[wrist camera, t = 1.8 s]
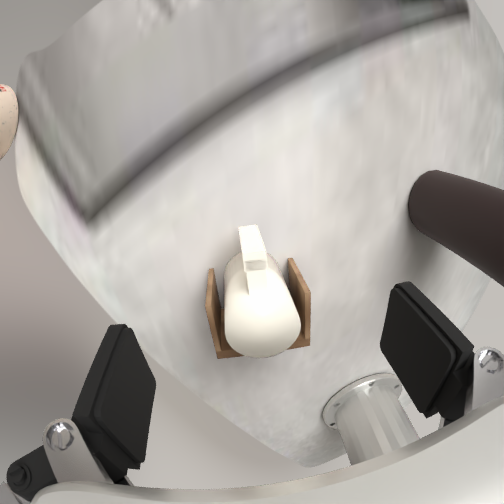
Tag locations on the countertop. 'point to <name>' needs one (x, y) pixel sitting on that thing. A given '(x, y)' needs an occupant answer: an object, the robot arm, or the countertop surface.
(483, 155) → the countertop surface
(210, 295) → the caddy
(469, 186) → the bottle
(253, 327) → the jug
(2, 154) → the teacup with lid
